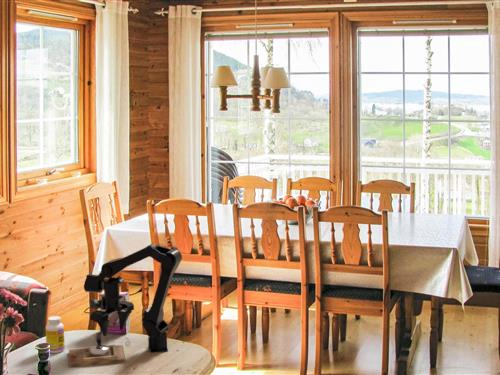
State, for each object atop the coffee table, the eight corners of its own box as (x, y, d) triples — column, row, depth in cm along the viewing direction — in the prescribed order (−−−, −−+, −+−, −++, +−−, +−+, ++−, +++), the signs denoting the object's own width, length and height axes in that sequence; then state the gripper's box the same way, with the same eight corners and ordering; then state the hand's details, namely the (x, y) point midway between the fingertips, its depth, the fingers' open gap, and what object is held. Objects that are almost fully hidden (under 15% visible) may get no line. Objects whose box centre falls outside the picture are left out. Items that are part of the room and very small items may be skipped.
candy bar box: (99, 333, 312) (98, 294, 310) (103, 329, 317) (102, 290, 314) (126, 334, 310) (125, 295, 308) (130, 330, 315) (129, 291, 313)
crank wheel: (109, 356, 282) (109, 340, 281) (90, 358, 281) (89, 342, 280) (108, 346, 292) (107, 331, 292) (89, 348, 291) (88, 333, 290)
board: (123, 348, 295) (122, 342, 295) (125, 362, 281) (125, 355, 280) (69, 352, 291) (69, 346, 291) (69, 367, 276) (68, 360, 276)
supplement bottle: (60, 354, 289) (58, 321, 287) (43, 353, 291) (42, 320, 289) (67, 348, 296) (66, 315, 294) (51, 347, 297) (50, 314, 295)
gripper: (112, 284, 307) (114, 322, 310) (78, 296, 292) (80, 335, 294) (134, 288, 301) (135, 327, 304) (100, 300, 286) (102, 341, 288)
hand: (113, 332), depth 298 cm, fingers open, 9 cm apart
